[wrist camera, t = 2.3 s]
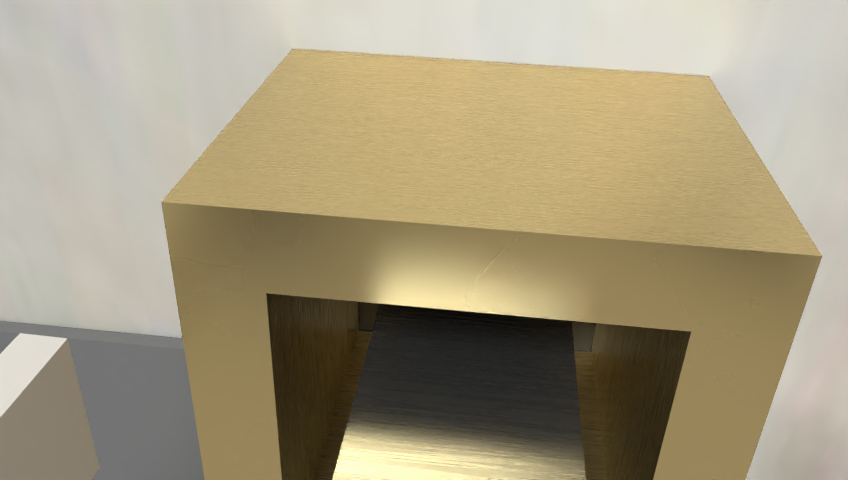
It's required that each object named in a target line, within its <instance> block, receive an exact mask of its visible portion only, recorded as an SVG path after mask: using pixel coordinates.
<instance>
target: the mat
mask: <svg viewBox="0 0 848 480" xmlns="http://www.w3.org/2000/svg"><path fill="white" fill-rule="evenodd" d="M20 333H23V334H32V335H41V336H50V337H59V338H68V342H69V346H70V350H71V354H72V358H73V362H74V366H75V370H76V374H77V378H78V382H79V386H80V390H81V395H82V399H83V403H84V407H85V411H86V415H87V419H88V423H89V427H90V431H91V435H92V439H93V443H94V447H95V451H96V455H97V459H98V463H99V467H100V468H99V470H98V471H97V473H96V474H95V476H94V478H93V479H92V480H205V479H204V473H203V466H202V460H201V453H200V447H199V440H198V434H197V428H196V421H195V415H194V408H193V402H192V395H191V389H190V382H189V376H188V370H187V363H186V357H185V350H184V344H183V338H172V337H162V336H152V335H141V334H131V333H120V332H110V331H99V330H89V329H78V328H68V327H58V326H47V325H37V324H26V323H16V322H5V321H0V354H1V353H2V352H3V351H4V350H5V348H6V347H7V346H8V345H9V344H10V343H11V342H12V341H13V340H14V339H15V338H16V337H17V336H18V335H19V334H20Z"/></svg>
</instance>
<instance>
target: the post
mask: <svg viewBox="0 0 848 480" xmlns="http://www.w3.org/2000/svg"><path fill="white" fill-rule="evenodd" d="M332 480H586V474H585V463H584V452H583V441H582V430H581V419H580V408H579V397H578V386H577V375H576V364H575V353H574V342H573V331H572V321H567V320H556V319H545V318H534V317H523V316H512V315H501V314H490V313H479V312H468V311H457V310H446V309H435V308H424V307H413V306H402V305H391V304H380V306H379V309H378V313H377V317H376V320H375V324H374V328H373V331H372V335H371V339H370V343H369V346H368V350H367V354H366V357H365V361H364V365H363V368H362V372H361V376H360V379H359V383H358V387H357V390H356V394H355V398H354V401H353V405H352V409H351V412H350V416H349V420H348V423H347V427H346V431H345V434H344V438H343V442H342V445H341V449H340V453H339V456H338V460H337V464H336V468H335V471H334V475H333V479H332Z"/></svg>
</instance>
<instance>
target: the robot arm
mask: <svg viewBox="0 0 848 480" xmlns="http://www.w3.org/2000/svg"><path fill="white" fill-rule="evenodd" d="M99 468H100V467H99V463H98V459H97V455H96V451H95V447H94V443H93V439H92V435H91V431H90V427H89V423H88V419H87V415H86V411H85V407H84V403H83V399H82V395H81V390H80V386H79V382H78V378H77V374H76V370H75V366H74V362H73V358H72V354H71V350H70V346H69V342H68V338H59V337H50V336H41V335H32V334H23V333H20V334H19V335H18V336H17V337H16V338H15V339H14V340H13V341H12V342H11V343H10V344H9V345H8V346H7V347H6V348H5V350H4V351H3V352H2V353H1V354H0V480H92V479H93V478H94V476H95V474H96V473H97V471H98V470H99Z"/></svg>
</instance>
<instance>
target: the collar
mask: <svg viewBox="0 0 848 480" xmlns="http://www.w3.org/2000/svg"><path fill="white" fill-rule="evenodd" d="M162 209H163V215H164V221H165V228H166V234H167V241H168V247H169V254H170V260H171V267H172V273H173V279H174V286H175V292H176V299H177V305H178V312H179V318H180V325H181V331H182V337H183V344H184V350H185V357H186V363H187V370H188V376H189V382H190V389H191V395H192V402H193V408H194V415H195V421H196V428H197V434H198V440H199V447H200V453H201V460H202V466H203V473H204V479H205V480H332V479H333V475H334V471H335V468H336V464H337V460H338V456H339V453H340V449H341V445H342V442H343V438H344V434H345V431H346V427H347V423H348V420H349V416H350V412H351V409H352V405H353V401H354V398H355V394H356V390H357V387H358V383H359V379H360V376H361V372H362V368H363V365H364V361H365V357H366V354H367V350H368V346H369V343H370V339H371V335H372V332H369V331H359V330H358V302H368V303H379V304H391V305H402V306H413V307H424V308H435V309H446V310H457V311H468V312H479V313H490V314H501V315H512V316H523V317H534V318H545V319H556V320H567V321H579V322H590V323H596V328H595V333H594V339H593V344H592V350H591V352H584V351H574V353H575V364H576V375H577V386H578V397H579V408H580V419H581V430H582V441H583V452H584V463H585V474H586V480H745V479H746V476H747V473H748V470H749V467H750V464H751V462H752V459H753V456H754V453H755V450H756V447H757V444H758V441H759V438H760V435H761V432H762V430H763V427H764V424H765V421H766V418H767V415H768V412H769V409H770V406H771V403H772V400H773V397H774V395H775V392H776V389H777V386H778V383H779V380H780V377H781V374H782V371H783V368H784V365H785V363H786V360H787V357H788V354H789V351H790V348H791V345H792V342H793V339H794V336H795V333H796V331H797V328H798V325H799V322H800V319H801V316H802V313H803V310H804V307H805V304H806V301H807V299H808V296H809V293H810V290H811V287H812V284H813V281H814V278H815V275H816V272H817V269H818V267H819V264H820V261H821V258H822V255H821V254H820V252H819V251H818V249H817V247H816V246H815V244H814V243H813V241H812V239H811V238H810V236H809V235H808V233H807V231H806V230H805V228H804V227H803V225H802V224H801V222H800V220H799V219H798V217H797V216H796V214H795V212H794V211H793V209H792V208H791V206H790V204H789V203H788V201H787V200H786V198H785V197H784V195H783V193H782V192H781V190H780V189H779V187H778V185H777V184H776V182H775V181H774V179H773V177H772V176H771V174H770V173H769V171H768V170H767V168H766V166H765V165H764V163H763V162H762V160H761V158H760V157H759V155H758V154H757V152H756V150H755V149H754V147H753V146H752V144H751V143H750V141H749V139H748V138H747V136H746V135H745V133H744V131H743V130H742V128H741V127H740V125H739V123H738V122H737V120H736V119H735V117H734V115H733V114H732V112H731V111H730V109H729V108H728V106H727V104H726V103H725V101H724V100H723V98H722V96H721V95H720V93H719V92H718V90H717V88H716V87H715V85H714V84H713V82H712V81H711V79H710V77H709V76H695V75H680V74H665V73H650V72H635V71H619V70H604V69H589V68H574V67H559V66H544V65H529V64H513V63H498V62H483V61H468V60H453V59H438V58H423V57H407V56H392V55H377V54H362V53H347V52H332V51H317V50H301V49H292V50H291V51H290V52H289V53H288V55H287V56H286V57H285V58H284V59H283V60H282V62H281V63H280V64H279V65H278V66H277V67H276V69H275V70H274V71H273V72H272V73H271V74H270V76H269V77H268V78H267V79H266V80H265V81H264V83H263V84H262V85H261V86H260V87H259V88H258V90H257V91H256V92H255V93H254V94H253V95H252V97H251V98H250V99H249V100H248V101H247V102H246V104H245V105H244V106H243V107H242V108H241V110H240V111H239V112H238V113H237V114H236V115H235V117H234V118H233V119H232V120H231V121H230V122H229V124H228V125H227V126H226V127H225V128H224V129H223V131H222V132H221V133H220V134H219V135H218V136H217V138H216V139H215V140H214V141H213V142H212V143H211V145H210V146H209V147H208V148H207V149H206V150H205V152H204V153H203V154H202V155H201V156H200V157H199V159H198V160H197V161H196V162H195V163H194V164H193V166H192V167H191V168H190V169H189V170H188V171H187V173H186V174H185V175H184V176H183V177H182V178H181V180H180V181H179V182H178V183H177V184H176V185H175V187H174V188H173V189H172V190H171V191H170V192H169V194H168V195H167V196H166V197H165V198H164V199H163V201H162Z"/></svg>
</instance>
